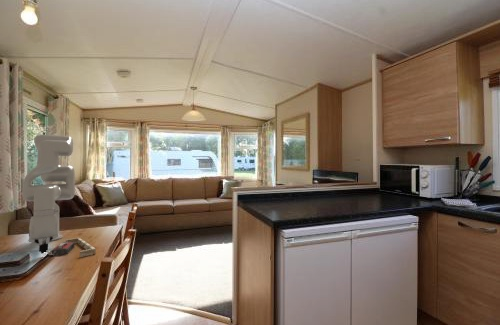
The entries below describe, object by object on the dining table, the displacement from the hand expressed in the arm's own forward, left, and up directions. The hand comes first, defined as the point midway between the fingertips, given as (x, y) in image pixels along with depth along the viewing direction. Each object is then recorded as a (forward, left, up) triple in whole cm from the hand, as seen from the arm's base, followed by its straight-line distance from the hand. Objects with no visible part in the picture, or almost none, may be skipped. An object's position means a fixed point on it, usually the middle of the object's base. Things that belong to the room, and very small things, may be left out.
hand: (43, 252), depth 114 cm
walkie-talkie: (0, +6, -3) cm, 6 cm away
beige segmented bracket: (0, +14, -2) cm, 14 cm away
